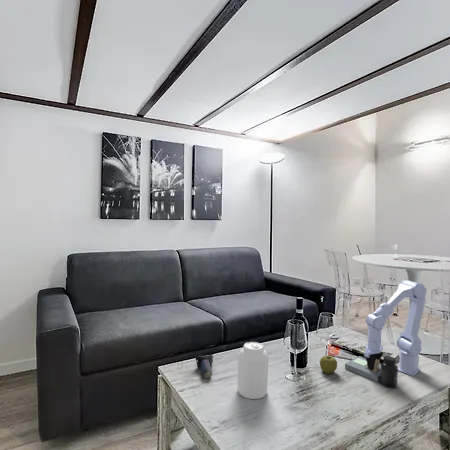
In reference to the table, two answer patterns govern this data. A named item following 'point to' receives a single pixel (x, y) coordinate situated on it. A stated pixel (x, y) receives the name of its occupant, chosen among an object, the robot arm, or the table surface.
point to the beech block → (375, 366)
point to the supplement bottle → (389, 372)
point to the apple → (328, 364)
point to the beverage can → (205, 365)
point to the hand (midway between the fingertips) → (373, 367)
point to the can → (252, 371)
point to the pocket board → (363, 368)
